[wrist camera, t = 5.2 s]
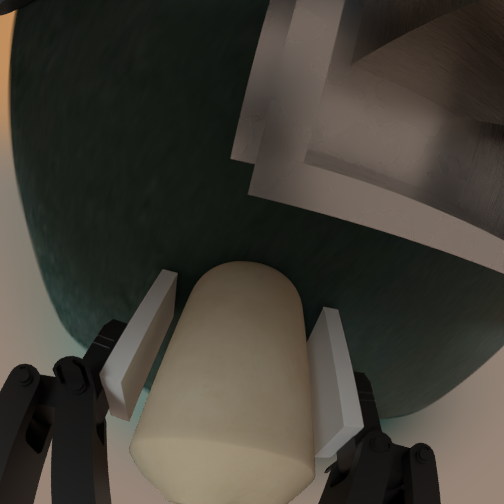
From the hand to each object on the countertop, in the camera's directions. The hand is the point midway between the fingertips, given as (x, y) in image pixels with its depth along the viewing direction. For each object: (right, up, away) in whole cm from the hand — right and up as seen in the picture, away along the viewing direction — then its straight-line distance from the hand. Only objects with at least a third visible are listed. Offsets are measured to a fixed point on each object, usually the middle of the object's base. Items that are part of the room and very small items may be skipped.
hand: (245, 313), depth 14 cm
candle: (0, 0, 0) cm, 1 cm away
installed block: (+7, +11, -7) cm, 15 cm away
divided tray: (+11, +10, -6) cm, 16 cm away
